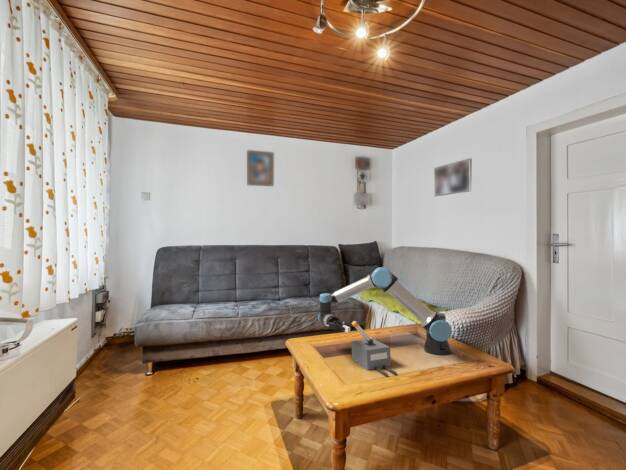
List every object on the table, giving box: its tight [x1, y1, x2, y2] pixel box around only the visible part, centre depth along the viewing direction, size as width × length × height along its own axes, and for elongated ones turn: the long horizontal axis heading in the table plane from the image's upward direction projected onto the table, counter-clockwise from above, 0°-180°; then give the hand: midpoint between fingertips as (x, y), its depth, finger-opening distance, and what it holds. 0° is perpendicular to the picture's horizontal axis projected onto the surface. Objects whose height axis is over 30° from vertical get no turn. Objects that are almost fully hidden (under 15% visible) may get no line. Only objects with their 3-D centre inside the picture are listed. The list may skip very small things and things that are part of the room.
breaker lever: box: [351, 320, 373, 344], centre depth 157 cm, size 4×2×15 cm
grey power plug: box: [350, 338, 398, 377], centre depth 152 cm, size 29×14×10 cm, turn 19°
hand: (349, 330), depth 149 cm, fingers closed
